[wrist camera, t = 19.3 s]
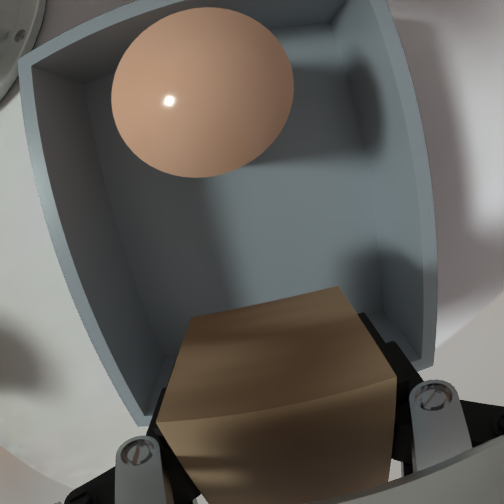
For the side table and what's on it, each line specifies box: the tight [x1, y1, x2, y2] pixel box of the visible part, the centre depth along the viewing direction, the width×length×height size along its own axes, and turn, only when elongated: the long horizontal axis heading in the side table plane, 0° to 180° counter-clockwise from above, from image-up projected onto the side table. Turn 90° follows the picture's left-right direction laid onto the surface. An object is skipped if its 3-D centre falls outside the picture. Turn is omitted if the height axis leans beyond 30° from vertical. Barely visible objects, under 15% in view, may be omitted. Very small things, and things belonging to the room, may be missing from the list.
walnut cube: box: [156, 286, 397, 504], centre depth 9 cm, size 5×5×5 cm
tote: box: [18, 0, 437, 426], centre depth 13 cm, size 17×14×6 cm
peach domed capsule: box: [111, 7, 294, 178], centre depth 11 cm, size 5×5×7 cm
